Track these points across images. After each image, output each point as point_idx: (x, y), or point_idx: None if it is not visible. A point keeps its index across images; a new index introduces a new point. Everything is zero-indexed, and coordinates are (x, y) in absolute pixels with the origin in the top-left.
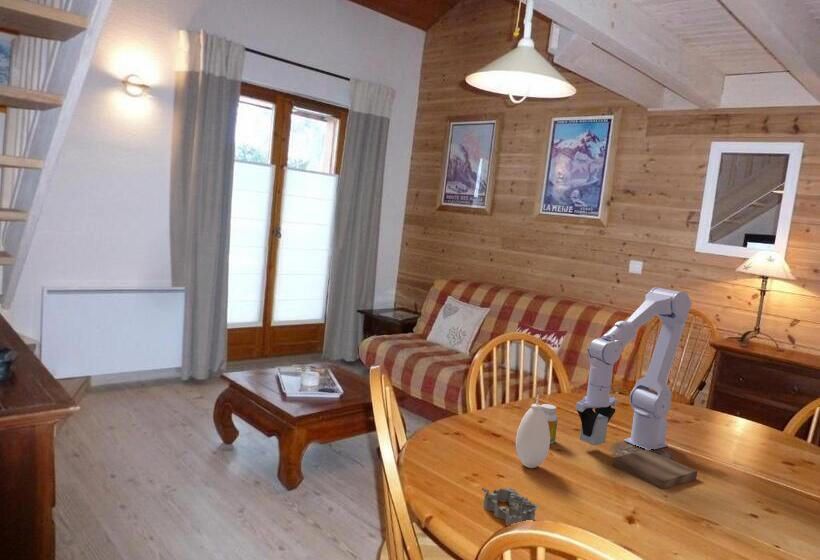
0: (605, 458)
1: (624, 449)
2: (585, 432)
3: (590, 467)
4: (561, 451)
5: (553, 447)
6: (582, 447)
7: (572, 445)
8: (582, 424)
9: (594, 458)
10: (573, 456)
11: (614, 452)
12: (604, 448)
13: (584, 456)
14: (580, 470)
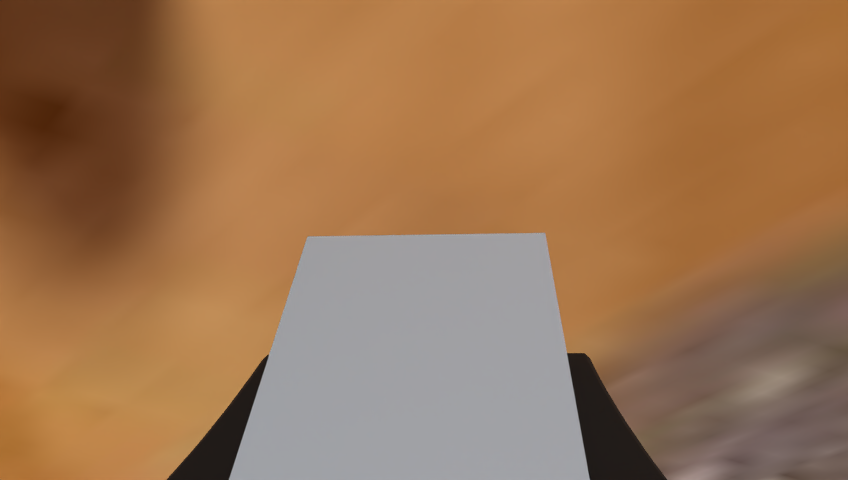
0: None
1: (823, 352)
2: None
3: (130, 461)
4: (50, 163)
5: (8, 41)
6: (402, 167)
7: (320, 80)
8: (196, 463)
9: None
10: (115, 290)
11: (636, 362)
12: (638, 269)
13: (235, 324)
14: (7, 465)
